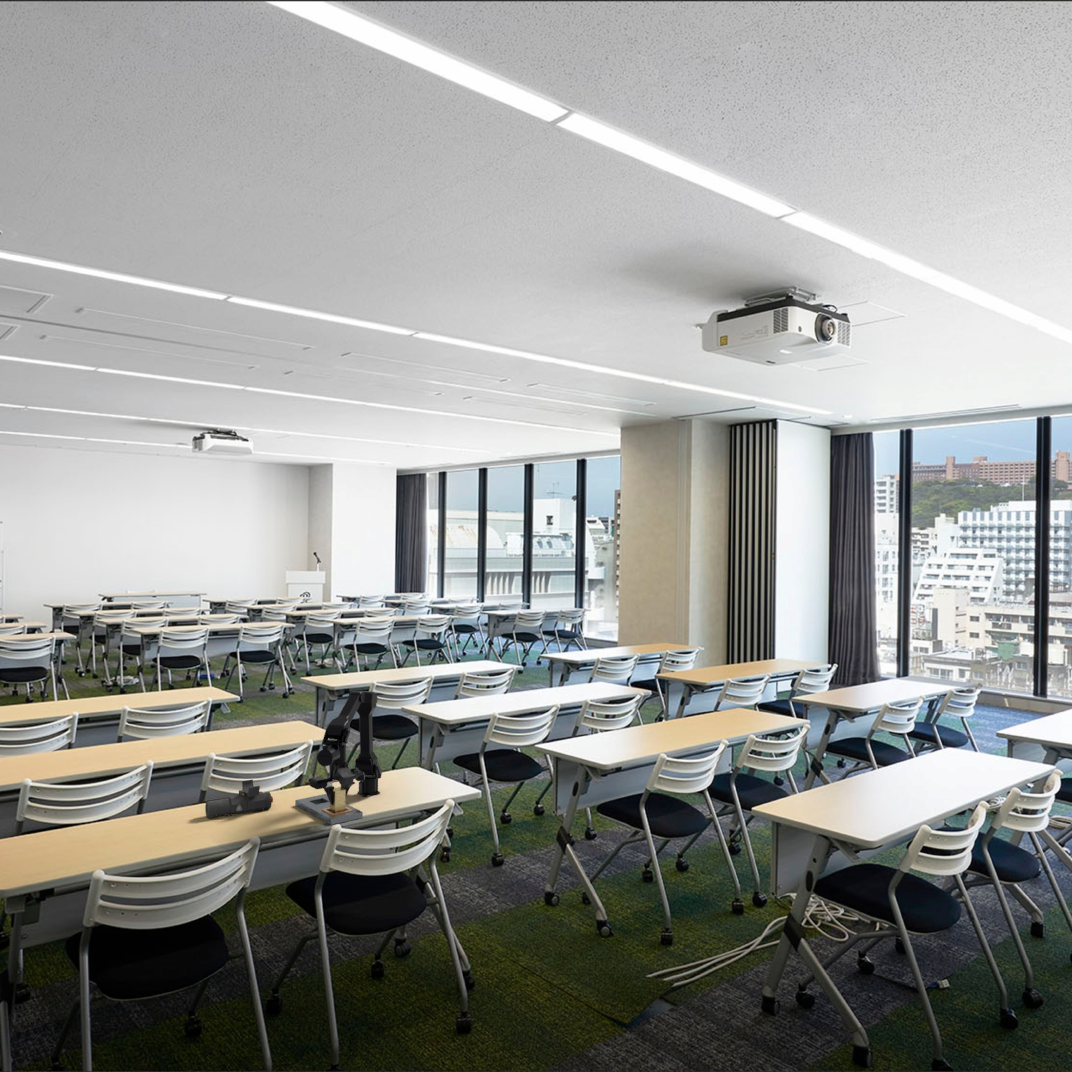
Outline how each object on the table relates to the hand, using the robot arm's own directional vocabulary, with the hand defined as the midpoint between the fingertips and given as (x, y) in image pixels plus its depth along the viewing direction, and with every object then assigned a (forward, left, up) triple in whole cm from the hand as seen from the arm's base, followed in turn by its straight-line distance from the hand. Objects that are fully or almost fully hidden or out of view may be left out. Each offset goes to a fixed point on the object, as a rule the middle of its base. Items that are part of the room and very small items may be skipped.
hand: (337, 803), depth 297 cm
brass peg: (0, 0, -3) cm, 3 cm away
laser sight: (+25, -26, -5) cm, 36 cm away
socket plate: (0, -7, -4) cm, 8 cm away
